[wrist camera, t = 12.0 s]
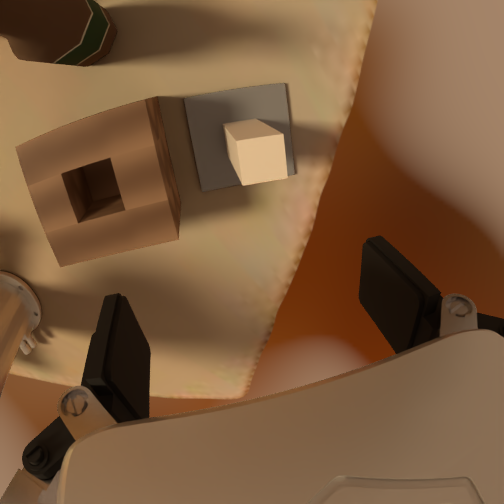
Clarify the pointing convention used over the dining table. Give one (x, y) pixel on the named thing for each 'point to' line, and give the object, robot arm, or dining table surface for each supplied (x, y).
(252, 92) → the rubber mat
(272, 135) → the square peg
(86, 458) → the robot arm
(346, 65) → the dining table surface
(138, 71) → the dining table surface
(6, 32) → the beer bottle
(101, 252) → the wooden square ring
